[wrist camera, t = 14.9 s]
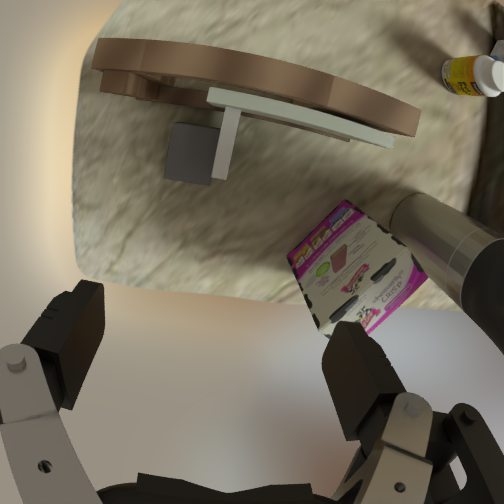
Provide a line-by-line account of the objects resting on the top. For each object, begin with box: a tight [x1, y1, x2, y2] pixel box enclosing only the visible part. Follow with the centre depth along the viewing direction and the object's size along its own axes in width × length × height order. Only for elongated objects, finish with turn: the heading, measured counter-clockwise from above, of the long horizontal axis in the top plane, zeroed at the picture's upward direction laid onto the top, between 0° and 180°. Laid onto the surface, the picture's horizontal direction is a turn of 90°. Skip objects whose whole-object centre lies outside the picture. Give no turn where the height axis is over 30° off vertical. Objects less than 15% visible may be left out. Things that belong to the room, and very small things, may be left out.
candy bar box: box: [287, 199, 429, 339], centre depth 35 cm, size 11×5×16 cm, turn 137°
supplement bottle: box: [442, 55, 504, 97], centre depth 29 cm, size 6×6×10 cm
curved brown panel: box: [92, 38, 421, 142], centre depth 28 cm, size 26×4×15 cm, turn 78°
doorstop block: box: [164, 122, 221, 186], centre depth 34 cm, size 5×6×5 cm
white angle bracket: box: [207, 87, 395, 180], centre depth 31 cm, size 16×8×12 cm, turn 78°
